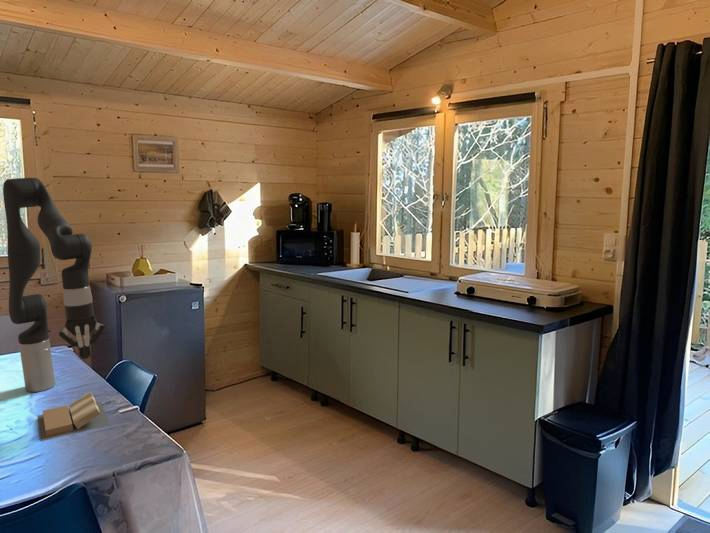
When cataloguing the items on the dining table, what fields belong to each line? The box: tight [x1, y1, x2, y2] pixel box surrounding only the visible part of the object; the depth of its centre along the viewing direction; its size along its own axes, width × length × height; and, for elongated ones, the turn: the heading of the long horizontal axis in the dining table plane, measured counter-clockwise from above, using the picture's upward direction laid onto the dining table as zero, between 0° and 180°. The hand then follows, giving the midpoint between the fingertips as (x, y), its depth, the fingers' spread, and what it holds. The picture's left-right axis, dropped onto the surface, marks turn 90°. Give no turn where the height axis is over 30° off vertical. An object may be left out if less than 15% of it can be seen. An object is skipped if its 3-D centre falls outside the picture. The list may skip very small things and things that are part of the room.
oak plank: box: [68, 391, 100, 429], centre depth 169 cm, size 16×7×2 cm, turn 32°
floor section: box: [37, 401, 111, 442], centre depth 168 cm, size 20×18×3 cm
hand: (85, 358), depth 167 cm, fingers closed
